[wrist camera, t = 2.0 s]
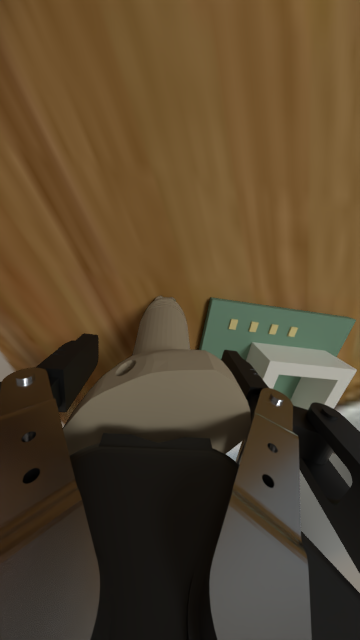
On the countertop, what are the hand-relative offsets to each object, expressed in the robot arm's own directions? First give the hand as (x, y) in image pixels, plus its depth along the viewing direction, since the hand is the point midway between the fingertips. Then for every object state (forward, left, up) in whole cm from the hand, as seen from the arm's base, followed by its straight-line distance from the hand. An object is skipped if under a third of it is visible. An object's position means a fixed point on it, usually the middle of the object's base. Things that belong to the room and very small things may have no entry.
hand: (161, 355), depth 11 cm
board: (+6, +14, -10) cm, 18 cm away
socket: (+8, +16, -9) cm, 20 cm away
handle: (0, 0, -10) cm, 10 cm away
